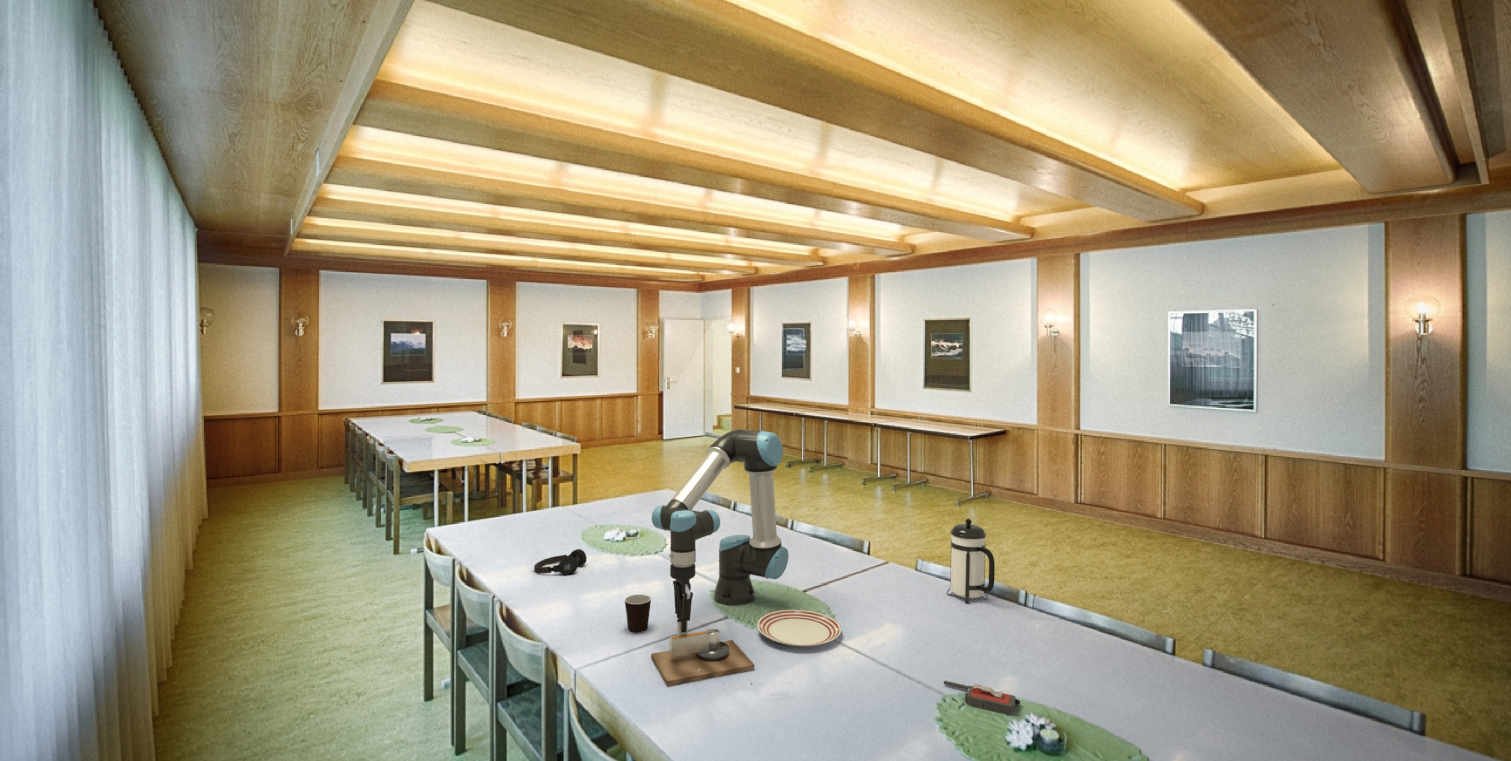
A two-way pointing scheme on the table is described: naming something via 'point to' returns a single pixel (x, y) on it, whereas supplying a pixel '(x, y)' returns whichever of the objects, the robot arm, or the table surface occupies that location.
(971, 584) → the coffee press
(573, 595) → the table surface
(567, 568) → the headphones
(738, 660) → the board
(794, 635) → the dinner plate
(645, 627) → the coffee mug
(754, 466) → the robot arm
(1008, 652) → the table surface
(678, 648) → the lever handle
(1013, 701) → the walkie-talkie
